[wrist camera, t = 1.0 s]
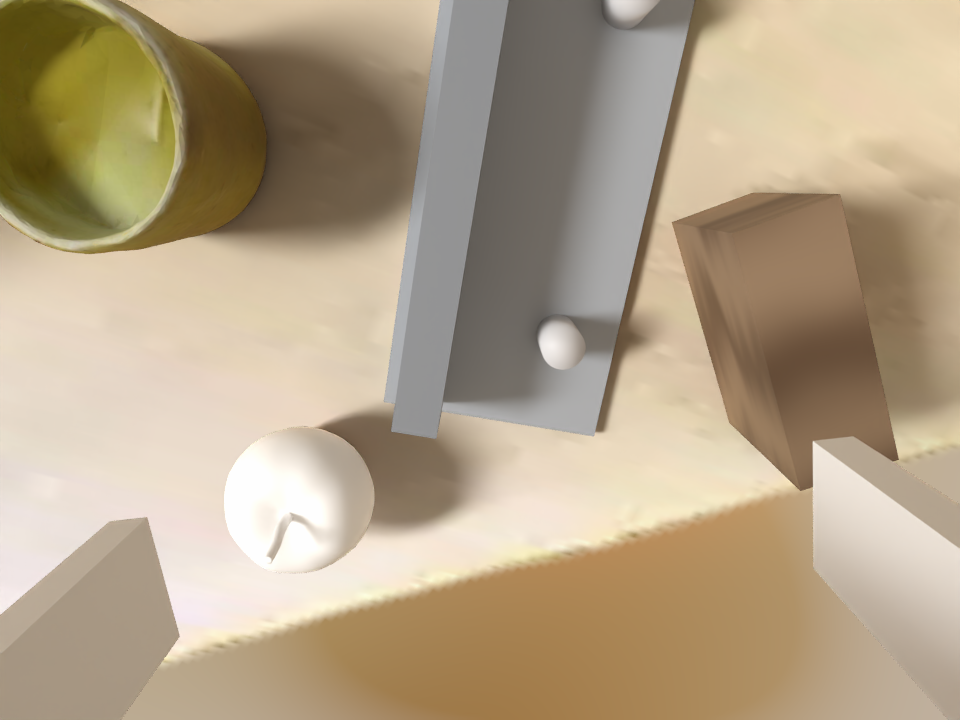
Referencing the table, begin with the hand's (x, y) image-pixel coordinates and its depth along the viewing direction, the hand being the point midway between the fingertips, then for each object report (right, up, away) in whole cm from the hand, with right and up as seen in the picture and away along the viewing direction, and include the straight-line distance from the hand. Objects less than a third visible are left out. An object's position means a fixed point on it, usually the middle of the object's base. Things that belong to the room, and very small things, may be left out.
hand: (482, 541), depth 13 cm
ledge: (+3, +13, +18) cm, 22 cm away
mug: (-16, +15, +18) cm, 28 cm away
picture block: (+13, +6, +20) cm, 24 cm away
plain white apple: (-9, -2, +22) cm, 24 cm away
